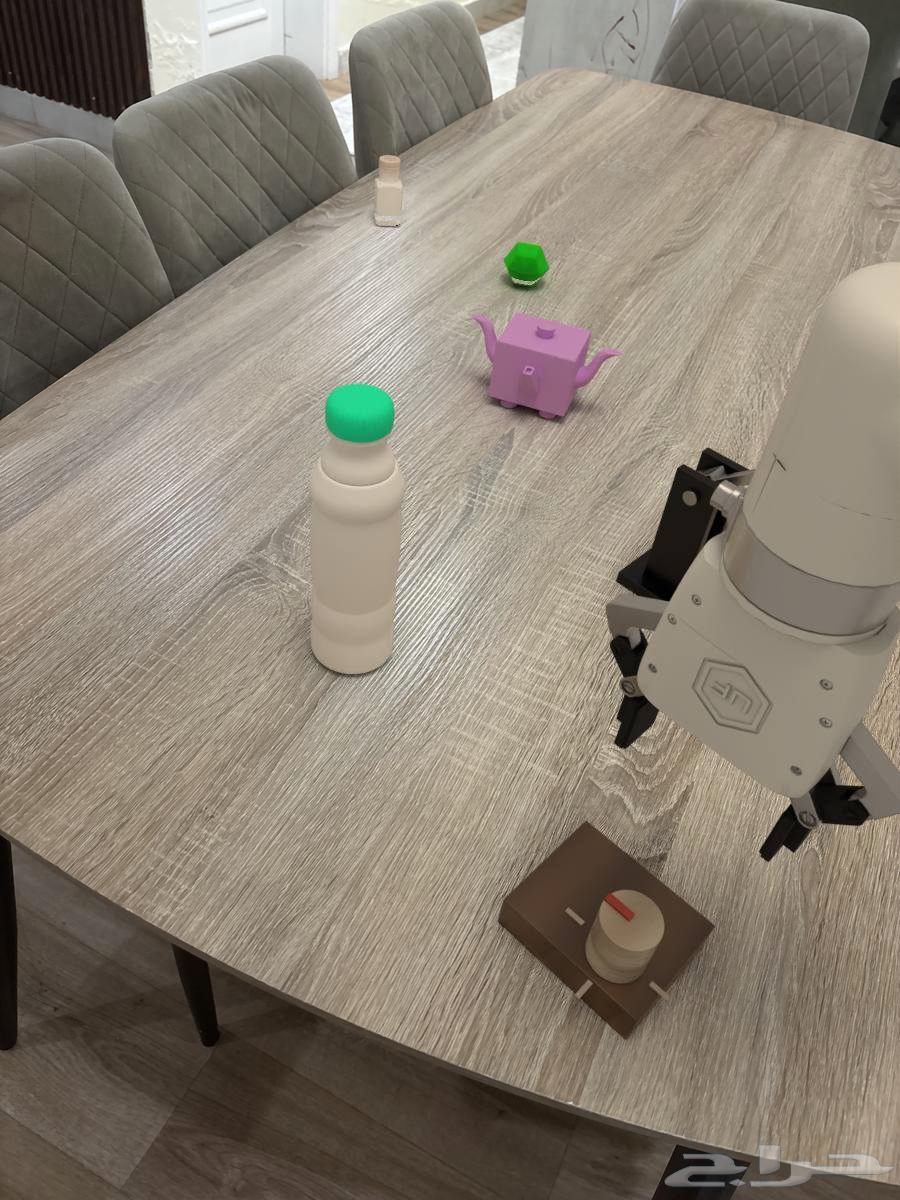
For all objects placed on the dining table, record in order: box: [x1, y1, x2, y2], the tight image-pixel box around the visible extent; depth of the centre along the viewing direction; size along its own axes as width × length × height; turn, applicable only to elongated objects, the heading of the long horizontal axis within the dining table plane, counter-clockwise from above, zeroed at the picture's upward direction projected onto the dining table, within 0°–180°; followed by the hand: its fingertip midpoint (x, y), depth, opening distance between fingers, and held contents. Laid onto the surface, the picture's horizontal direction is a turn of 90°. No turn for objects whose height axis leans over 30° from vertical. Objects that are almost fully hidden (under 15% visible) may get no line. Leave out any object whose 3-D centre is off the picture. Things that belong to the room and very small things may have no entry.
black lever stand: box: [615, 446, 750, 602], centre depth 86 cm, size 8×8×14 cm
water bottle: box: [308, 382, 406, 675], centre depth 72 cm, size 7×7×25 cm
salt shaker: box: [373, 154, 404, 227], centre depth 143 cm, size 4×4×10 cm
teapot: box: [470, 311, 623, 420], centre depth 109 cm, size 18×13×10 cm
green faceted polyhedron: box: [503, 241, 550, 287], centre depth 134 cm, size 7×6×9 cm
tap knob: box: [585, 890, 664, 984], centre depth 58 cm, size 4×4×5 cm
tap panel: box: [497, 820, 716, 1041], centre depth 63 cm, size 12×11×3 cm
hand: (702, 786), depth 53 cm, fingers open, 9 cm apart
